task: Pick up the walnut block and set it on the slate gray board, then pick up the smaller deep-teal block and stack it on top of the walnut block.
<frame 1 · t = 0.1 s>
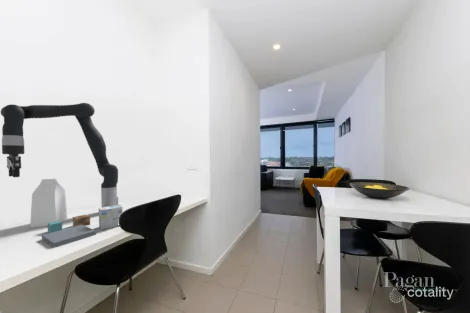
hand: (14, 176, 100), 29 cm above the table, tool pointing down, fingers open, 8 cm apart
walnut block: (81, 225, 112), on the table
slate gray board: (69, 236, 96), on the table
light bulb box: (110, 226, 110), on the table
teal block: (55, 231, 103), on the table
milk: (50, 223, 116), on the table
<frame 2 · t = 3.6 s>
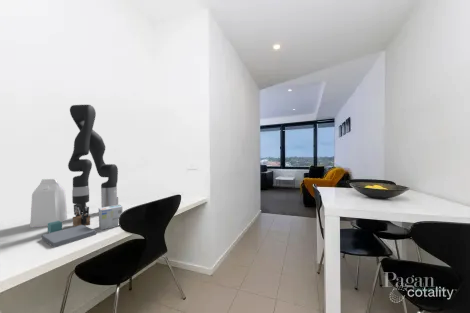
hand: (81, 223, 112), 1 cm above the table, tool pointing down, fingers closed on walnut block, 6 cm apart
walnut block: (81, 225, 112), on the table, touching gripper
everything else where it was.
when the fingers open (4 cm above the table, at t = 9.3 s): walnut block drops 1 cm, resting on slate gray board.
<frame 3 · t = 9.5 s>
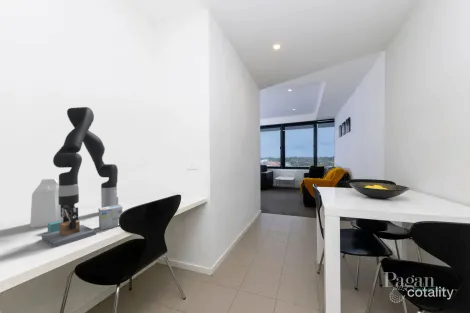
hand: (69, 227, 96), 5 cm above the table, tool pointing down, fingers open, 7 cm apart
walnut block: (69, 232, 96), point 2 cm above the table, touching slate gray board
everything else where it was.
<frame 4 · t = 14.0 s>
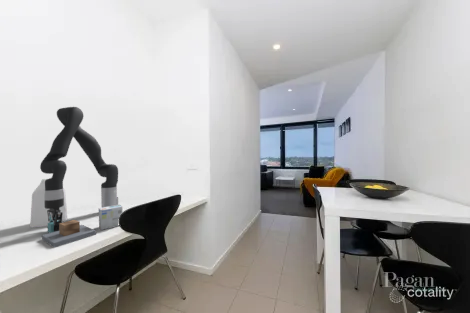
hand: (54, 230, 103), 0 cm above the table, tool pointing down, fingers closed on teal block, 4 cm apart
teal block: (55, 231, 103), on the table, touching gripper
everything else where it was.
when the fingers open (9 cm above the table, at t = 19.9 s): teal block drops 1 cm, resting on walnut block.
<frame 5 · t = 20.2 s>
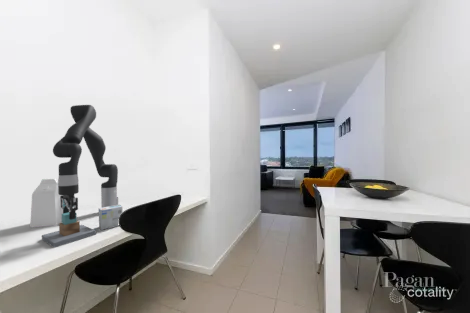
hand: (69, 217, 96), 9 cm above the table, tool pointing down, fingers open, 7 cm apart
walnut block: (69, 232, 96), point 2 cm above the table, touching slate gray board, teal block
teal block: (69, 222, 96), point 7 cm above the table, touching walnut block
everything else where it was.
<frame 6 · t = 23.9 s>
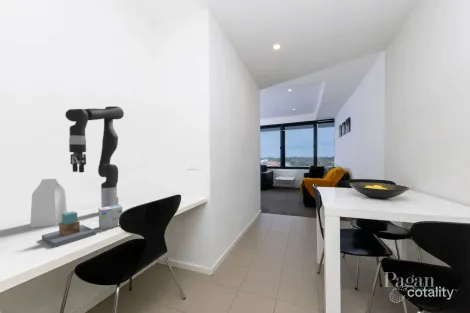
hand: (78, 172, 113), 30 cm above the table, tool pointing down, fingers open, 8 cm apart
nothing on the table moved.
at the end: walnut block inside the target area on the slate gray board (0.0 cm from its centre), point 2.0 cm above the slate gray board's base; teal block 0.1 cm off-centre on the walnut block, point 5.0 cm above the walnut block's base; teal block tilted 0° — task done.
